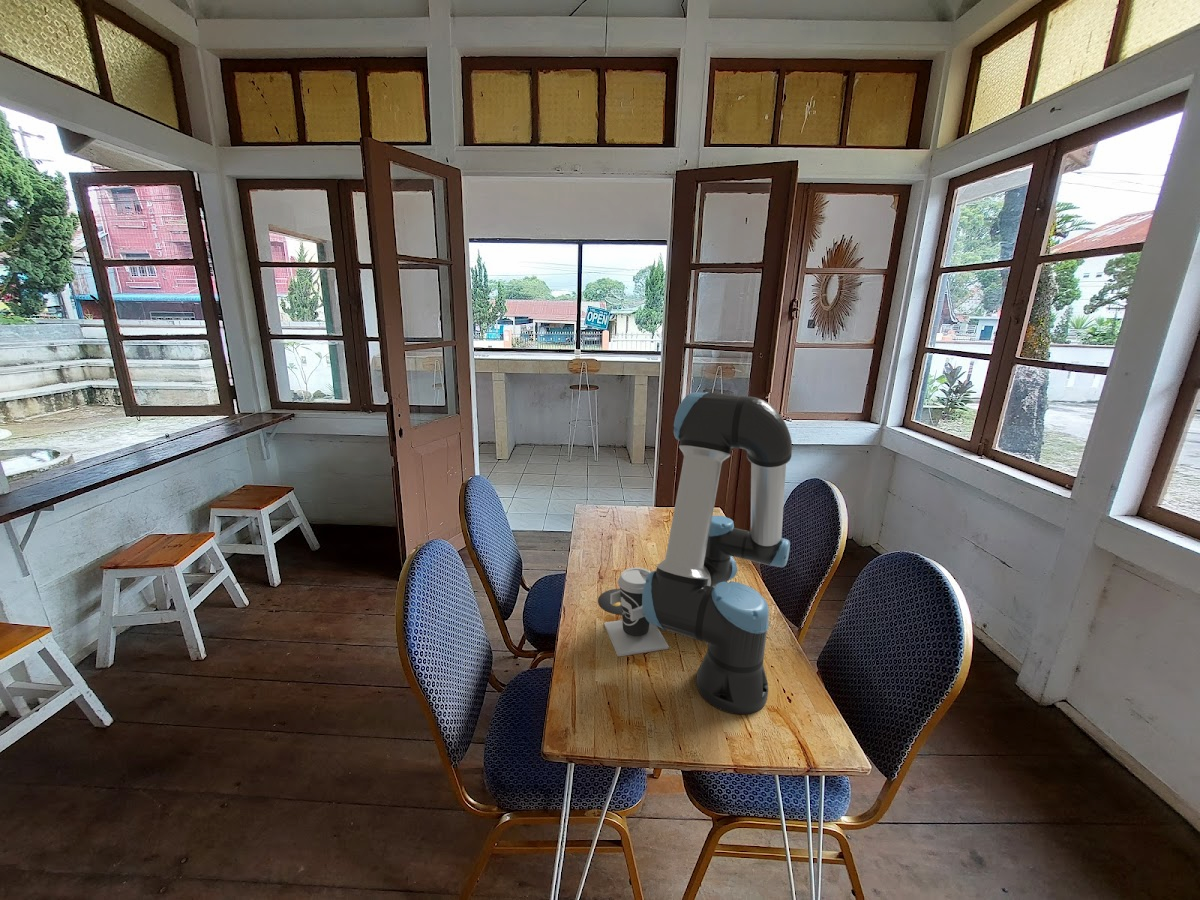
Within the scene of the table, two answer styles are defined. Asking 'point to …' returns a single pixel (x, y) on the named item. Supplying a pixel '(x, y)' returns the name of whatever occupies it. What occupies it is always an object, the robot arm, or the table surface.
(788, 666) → the table surface
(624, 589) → the coffee cup
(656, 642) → the plate
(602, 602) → the coaster
